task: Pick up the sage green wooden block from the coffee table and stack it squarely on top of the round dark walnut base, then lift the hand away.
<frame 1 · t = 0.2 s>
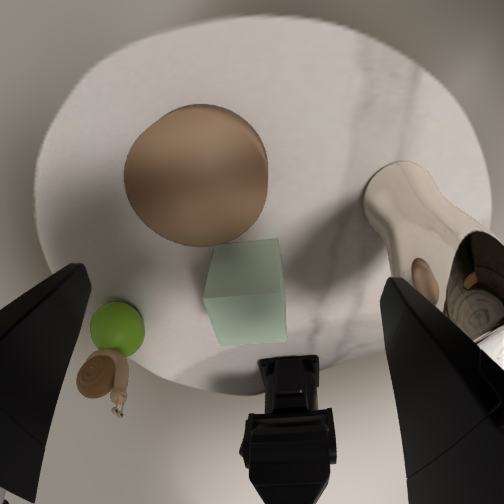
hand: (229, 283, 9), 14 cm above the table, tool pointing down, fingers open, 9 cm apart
sage block: (251, 266, 27), on the table
walnut base: (201, 167, 22), on the table
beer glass: (399, 197, 22), on the table
snail figurine: (130, 307, 31), on the table
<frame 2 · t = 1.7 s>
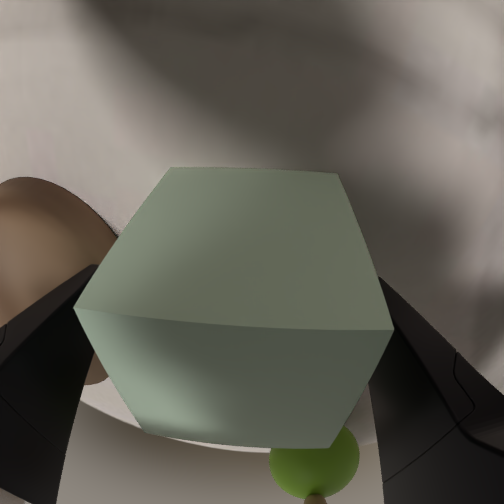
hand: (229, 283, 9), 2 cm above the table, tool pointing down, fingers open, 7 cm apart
sage block: (252, 238, 11), on the table
walnut base: (49, 269, 12), on the table
snail figurine: (313, 415, 18), on the table
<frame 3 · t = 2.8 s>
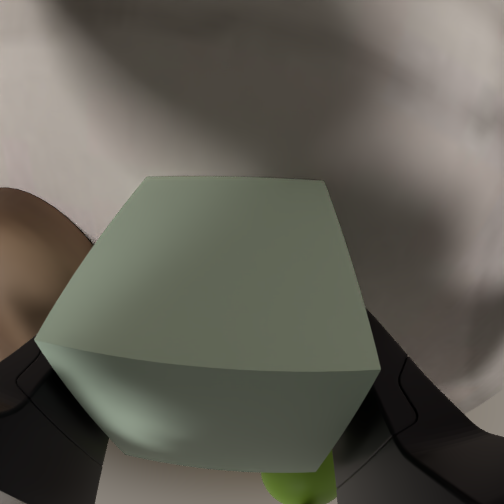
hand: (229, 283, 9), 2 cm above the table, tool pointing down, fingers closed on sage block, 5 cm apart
sage block: (234, 251, 10), on the table, touching gripper
walnut base: (31, 281, 12), on the table
snail figurine: (305, 423, 18), on the table
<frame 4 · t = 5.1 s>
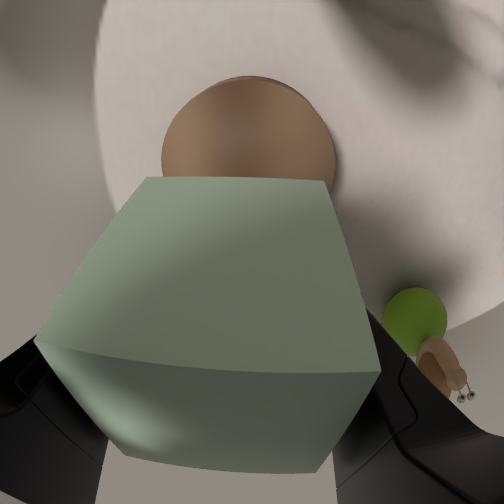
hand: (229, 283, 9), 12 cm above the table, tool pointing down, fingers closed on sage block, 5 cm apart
sage block: (234, 251, 10), point 10 cm above the table, touching gripper
walnut base: (250, 150, 19), on the table
snail figurine: (405, 292, 25), on the table
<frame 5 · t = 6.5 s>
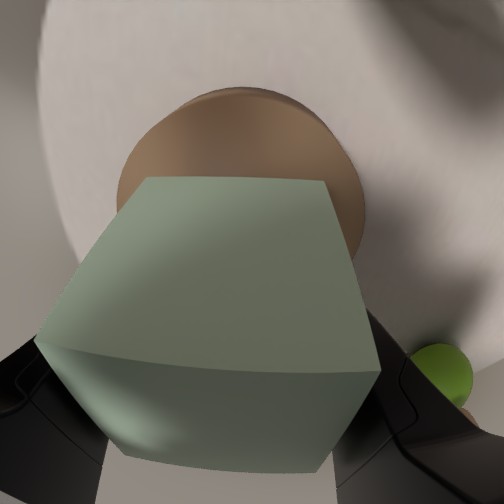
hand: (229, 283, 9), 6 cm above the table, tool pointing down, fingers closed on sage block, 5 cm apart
sage block: (234, 251, 10), point 4 cm above the table, touching gripper
walnut base: (243, 191, 14), on the table
snail figurine: (426, 346, 20), on the table
when the fingers open (6 cm above the table, at t = 7.4 s): sage block drops 1 cm, resting on walnut base.
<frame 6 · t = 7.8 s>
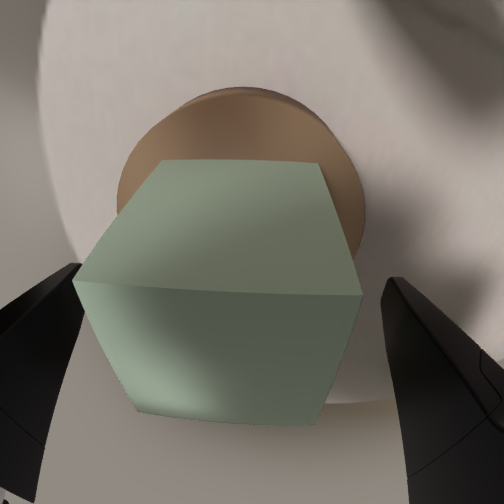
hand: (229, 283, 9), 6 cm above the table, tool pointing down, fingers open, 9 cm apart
sage block: (239, 227, 11), point 3 cm above the table, touching walnut base
walnut base: (243, 191, 14), on the table
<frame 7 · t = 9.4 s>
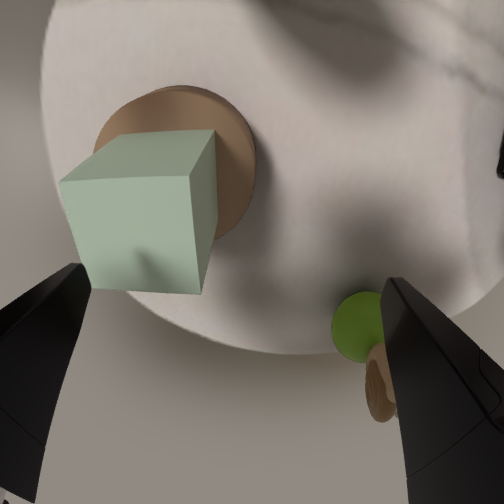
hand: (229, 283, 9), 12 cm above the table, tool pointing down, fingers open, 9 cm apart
sage block: (169, 177, 16), point 3 cm above the table, touching walnut base
walnut base: (180, 158, 19), on the table
snail figurine: (359, 296, 25), on the table
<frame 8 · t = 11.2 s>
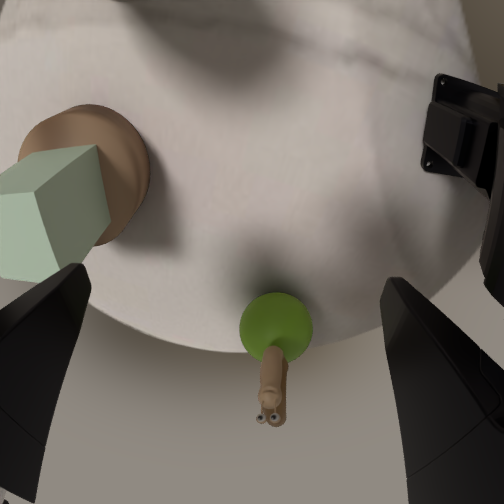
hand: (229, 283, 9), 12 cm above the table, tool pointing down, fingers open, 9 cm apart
sage block: (69, 186, 17), point 3 cm above the table, touching walnut base
walnut base: (90, 167, 20), on the table
snail figurine: (275, 297, 26), on the table
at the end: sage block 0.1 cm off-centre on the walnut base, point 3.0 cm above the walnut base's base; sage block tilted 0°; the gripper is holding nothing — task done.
